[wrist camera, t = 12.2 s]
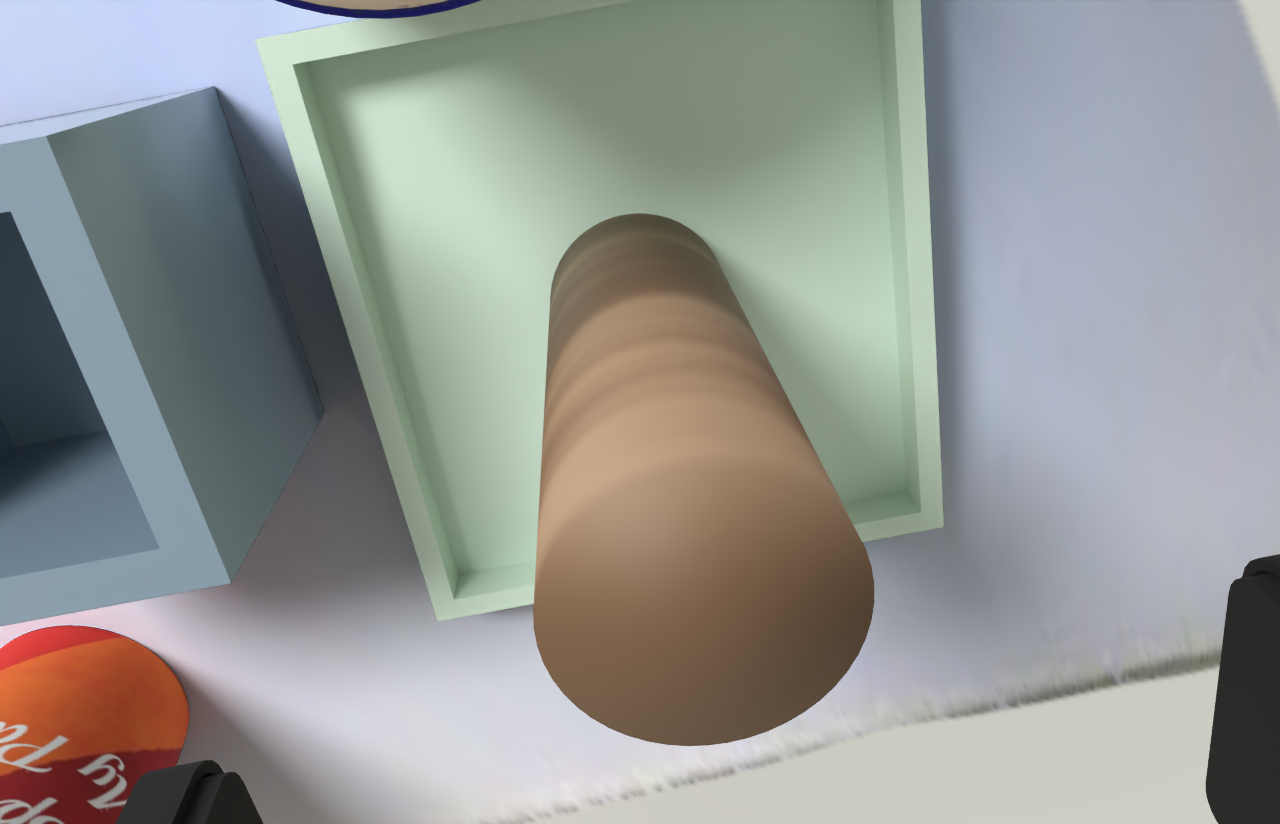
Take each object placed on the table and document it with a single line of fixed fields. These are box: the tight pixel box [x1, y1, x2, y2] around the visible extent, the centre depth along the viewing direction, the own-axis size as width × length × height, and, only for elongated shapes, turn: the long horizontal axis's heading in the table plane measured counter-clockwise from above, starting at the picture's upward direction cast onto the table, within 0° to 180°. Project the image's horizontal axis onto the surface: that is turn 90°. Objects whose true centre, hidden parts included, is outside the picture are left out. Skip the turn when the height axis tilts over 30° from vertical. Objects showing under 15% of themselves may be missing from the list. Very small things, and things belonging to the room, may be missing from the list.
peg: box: [533, 213, 874, 746], centre depth 18 cm, size 4×4×13 cm
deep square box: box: [0, 86, 324, 626], centre depth 20 cm, size 8×8×8 cm
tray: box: [255, 0, 944, 622], centre depth 24 cm, size 15×14×2 cm
